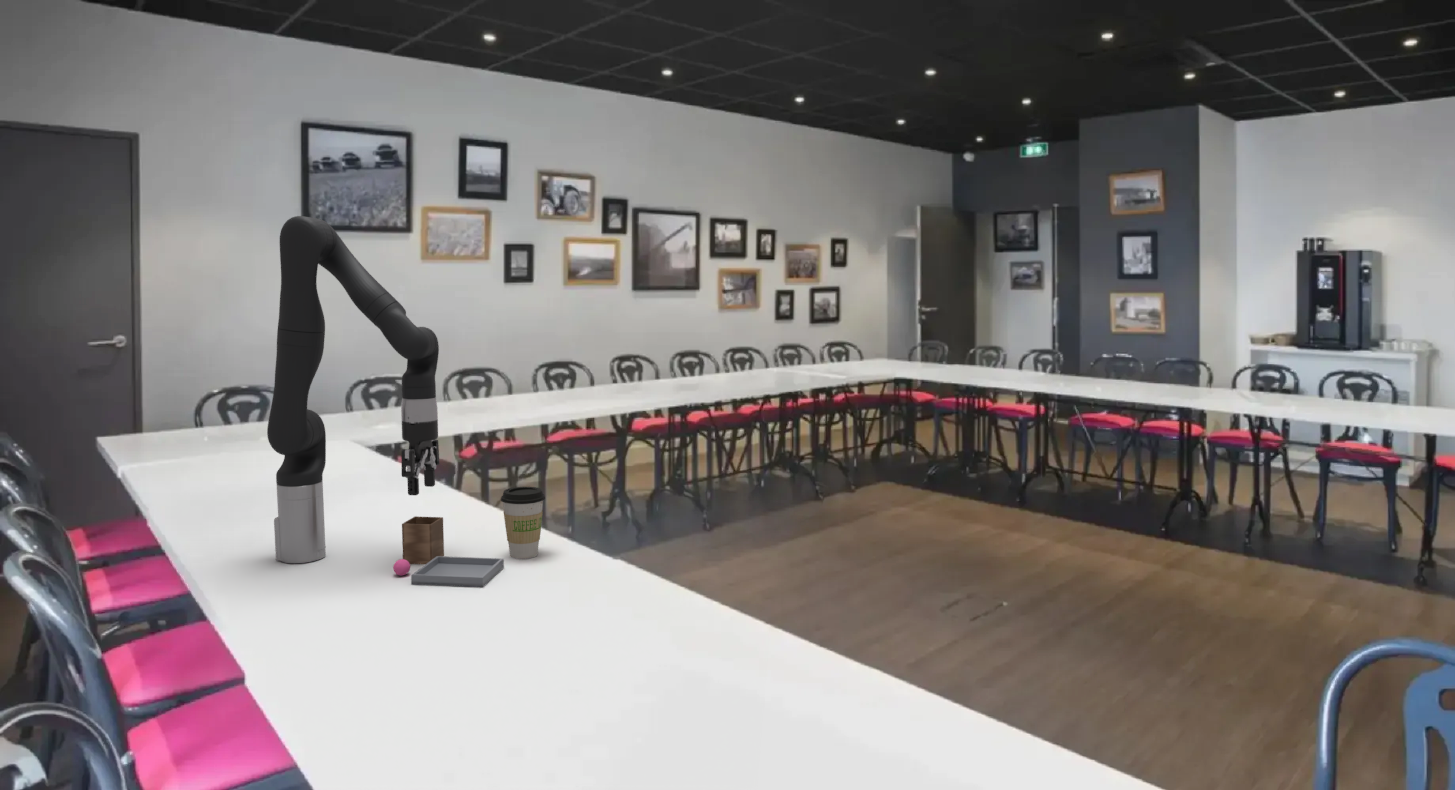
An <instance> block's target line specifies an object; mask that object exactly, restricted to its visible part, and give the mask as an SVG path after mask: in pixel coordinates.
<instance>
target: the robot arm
mask: <svg viewBox="0 0 1455 790" xmlns="http://www.w3.org/2000/svg"><path fill="white" fill-rule="evenodd" d="M279 259H280V262H279V263H280V291H279V292H280V294H279V308H278V309H279V311H278V321H277V322H278V323H277V331H276V332H277V333H276V334H277V335H276V357H275V370H274V384H273V385H274V386H273V387H274V388H273V394H272V400H271V406H270V411H269V418H268V423H267V430H266V431H267V434H266V435H267V440H268V443H269V445H270V447H271V448H272V449H273V451H275V452H276V453H278V454H279V455H283V457H284V458H283V462H282V464H281V465H280V467H279V468H278V470H277V471H276V474H275V476H276V477H275V482H276V500H277V517H275V518H274V520H273V525H274V527H273V528H274V546H275V549H274V551H275V561H277V562H278V561H280V562H282V563H286V564H304V563H311V562H315V561H319V560H321V559H323V558H325V557H326V547H327V546H326V533H325V532H326V531H325V530H326V528H325V506H324V501H325V500H324V485H323V484H324V483H323V481H324V480H323V475H324V474H323V473H324V470H325V467H326V461H327V460H326V457H327V456H326V455H327V454H326V453H327V450H326V449H327V446H326V445H327V442H326V439H327V438H326V437H327V435H326V428H325V427H326V426H325V423H324V421H323V418H322V417H321V416H320V415H319V414H318V412H316V411H314V410H312V409H309V408H308V402H309V401H308V398H309V394H310V389H311V386H312V383H313V380H314V378H315V376H316V374H317V372H318V368H319V367H320V364H321V362H322V359H323V354H324V348H325V338H326V337H325V336H326V322H325V314H324V311H323V308H322V304H321V301H320V297H319V293H318V287H317V284H318V283H317V277H318V267H319V265H320V266H321V267H322V268H324V269H325V270H326V271H327V272H329V273H330V274H331V275H332V276H333V277H334V278H335V279H336V280H337V281H338V283H339V284H340V285H341V286H342V287H343V289H344V290H345V292H346V293H347V295H348V297H349V298H350V300H351V301H352V303H353V304H354V306H355V307H356V308H357V309H358V310H359V311H360V312H361V313H362V314H363V315H364V316H365V317H366V318H367V319H368V320H369V321H370V322H371V323H372V324H374V326H375V327H377V328H378V329H379V330H380V332H381V333H382V335H383V337H384V338H385V339H386V340H387V342H388V344H390V346H391V347H392V348H393V349H394V351H396V353H397V354H398V355H400V356H401V357H403V358H404V359H406V360H407V362H406V369H405V372H404V373H403V374H402V377H401V409H400V410H401V411H400V412H401V439H402V440H403V441H405V442H408V443H409V444H408V448H403V449H401V477H402V478H406V480H407V494H408V496H418V495H419V494H420V481H419V480H420V478H419V475H420V472H421V470H423V476H424V477H423V481H424V482H423V483H424V486H425V487H431V488H432V487H434V486H435V485H436V475H435V474H436V471H435V470H436V469H437V466H439V465H440V452H439V451H440V449H439V446H440V445H439V439H438V438H439V423H438V421H439V420H438V419H439V418H438V413H439V412H438V404H437V394H436V393H437V392H436V389H437V388H436V386H437V385H436V374H437V369H438V368H437V367H438V363H439V350H440V347H439V346H440V344H439V339H438V336H437V335H436V333H435V332H434V331H433V330H432V329H430V328H428V327H426V326H416V325H415V324H414V322H412V320H410V318H409V317H408V316H407V311H406V309H405V307H404V306H403V305H402V304H401V302H399V301H398V300H397V299H396V298H395V297H394V296H393V295H392V294H391V293H390V292H389V291H388V290H387V289H386V288H385V287H384V286H382V284H380V283H379V282H378V281H377V279H375V278H374V277H373V275H371V274H370V272H369V271H368V270H367V269H366V268H365V267H364V266H363V265H362V264H361V263H360V261H359V260H358V259H357V258H356V257H355V256H354V254H353V252H351V250H350V249H349V248H348V247H347V246H346V244H345V243H344V241H343V239H342V237H340V236H339V234H338V233H337V232H336V230H335V229H334V228H333V227H332V225H330V224H329V222H327V221H325V220H323V219H320V218H316V217H310V216H303V215H297V216H292V217H289V219H287V220H286V221H285V223H283V225H282V228H281V229H280V235H279Z"/></svg>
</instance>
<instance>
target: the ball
mask: <svg viewBox="0 0 1455 790" xmlns="http://www.w3.org/2000/svg"><path fill="white" fill-rule="evenodd" d="M392 569H393V570H392V571H393V572H394V574H396V575H397V576H406V575H407V574H408V573H410V571H411V564H410V563H409V562H408V561H407V560H405V559H403V558H400V559H398V560H396V561H395V563H394V564H393V566H392Z"/></svg>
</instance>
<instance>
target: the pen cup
mask: <svg viewBox="0 0 1455 790" xmlns="http://www.w3.org/2000/svg"><path fill="white" fill-rule="evenodd" d="M401 533H402V534H401V536H402V537H401V538H402V542H401V543H402V559H405V560H407V561H408V562H409V563H410V565H425V564H427V563H428V562H430V561H431V560H432V559H434V558H435V557H436V556H445V544H444V543H445V542H444V541H445V540H444V517H441V516H439V517H438V516H417V515H416V516H413V517H412V518H410V519H408V520H406V521H404V522H403V523H401Z"/></svg>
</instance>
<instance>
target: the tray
mask: <svg viewBox="0 0 1455 790" xmlns="http://www.w3.org/2000/svg"><path fill="white" fill-rule="evenodd" d="M504 559H505V558H497V557H495V558H494V557H469V556H445V555H444V556H436V557H435V558H434V559H432V560H431V561H430V562H428V563H427V564H423V565H422V566H421V567H420V568H419V569H417V570H416V571H415V572H413V573H411V575H410V578H411V579H410V584H411V585H419V586H443V587H464V588H466V587H468V588H469V587H470V588H484V586H486V585H487V584H488V583H489V582H490V581H491V580H492V579H493V578H494V577H495V576H496V575H498V573H500V572H501V570H503V569H504V568H505V563H504V561H505V560H504Z"/></svg>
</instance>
